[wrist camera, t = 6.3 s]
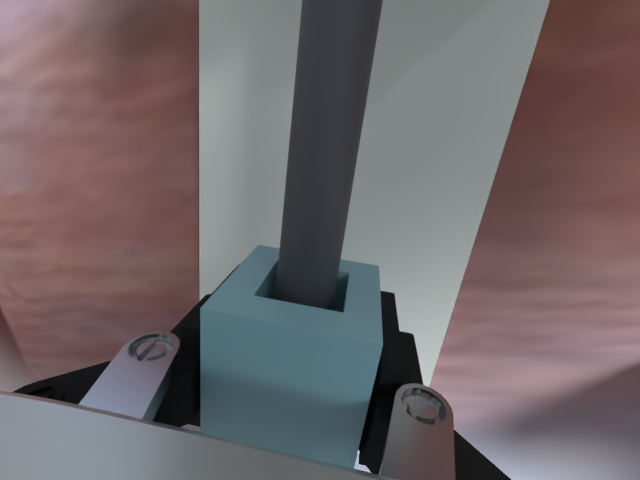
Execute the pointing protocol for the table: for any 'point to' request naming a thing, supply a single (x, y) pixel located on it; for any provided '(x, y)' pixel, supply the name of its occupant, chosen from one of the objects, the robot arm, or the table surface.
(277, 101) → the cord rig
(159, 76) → the table surface
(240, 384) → the sleeve
